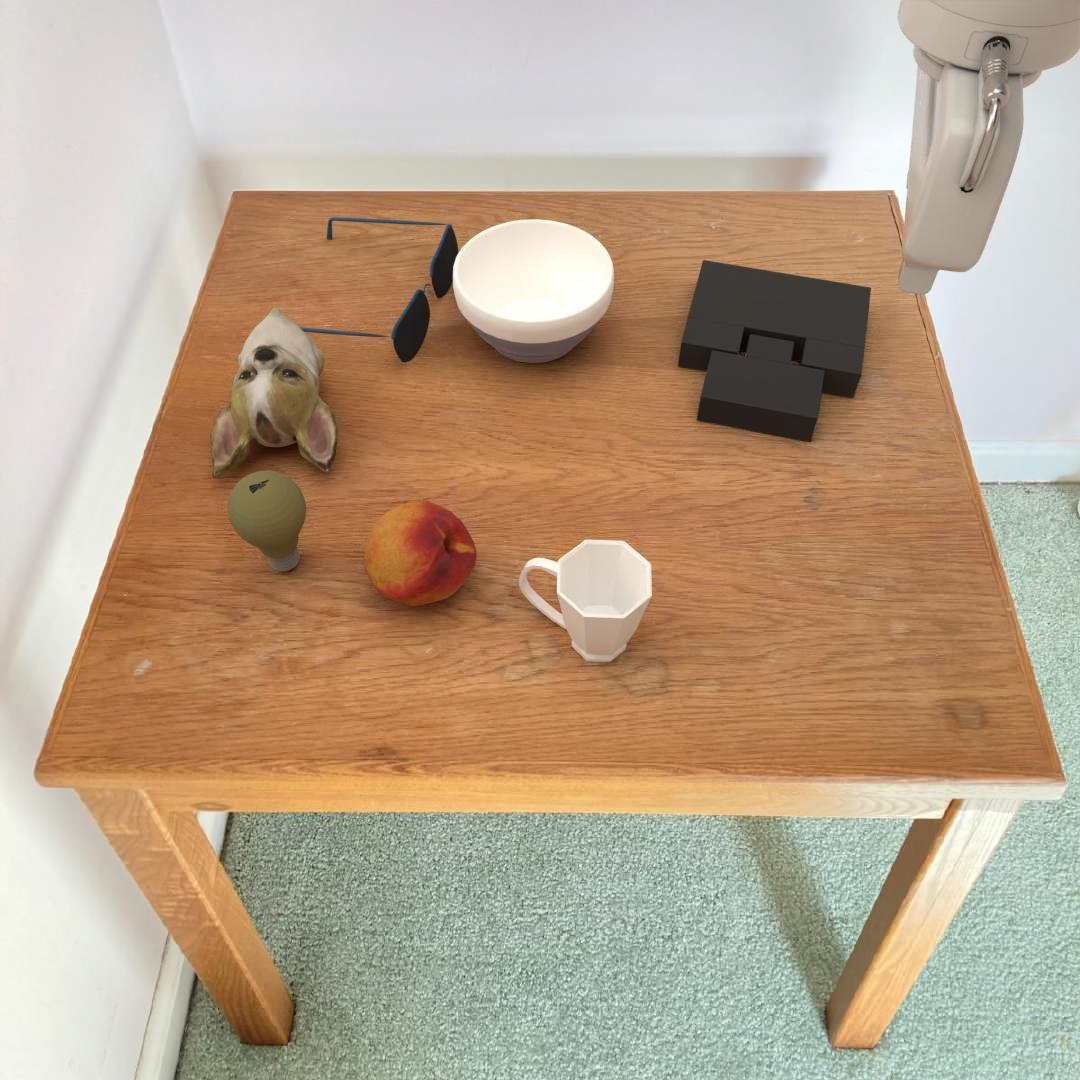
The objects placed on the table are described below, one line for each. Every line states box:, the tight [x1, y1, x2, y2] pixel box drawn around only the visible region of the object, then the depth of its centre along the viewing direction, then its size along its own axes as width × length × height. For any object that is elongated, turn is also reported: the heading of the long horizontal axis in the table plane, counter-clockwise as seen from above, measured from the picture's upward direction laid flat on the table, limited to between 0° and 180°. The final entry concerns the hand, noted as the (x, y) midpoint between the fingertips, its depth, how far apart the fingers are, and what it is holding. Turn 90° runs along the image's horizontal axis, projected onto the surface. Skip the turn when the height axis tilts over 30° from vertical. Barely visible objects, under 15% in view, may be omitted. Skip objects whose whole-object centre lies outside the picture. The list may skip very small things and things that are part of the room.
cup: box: [518, 539, 653, 663], centre depth 75 cm, size 7×10×8 cm
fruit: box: [362, 500, 478, 607], centre depth 77 cm, size 8×8×8 cm
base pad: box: [677, 259, 872, 399], centre depth 96 cm, size 16×12×3 cm
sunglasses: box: [299, 216, 459, 364], centre depth 99 cm, size 17×15×5 cm
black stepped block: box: [696, 334, 825, 443], centre depth 91 cm, size 10×9×3 cm
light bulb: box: [227, 470, 307, 572], centre depth 77 cm, size 6×6×10 cm
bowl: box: [452, 218, 615, 364], centre depth 94 cm, size 14×14×8 cm
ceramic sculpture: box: [209, 306, 339, 478], centre depth 87 cm, size 11×9×15 cm
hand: (916, 234), depth 60 cm, fingers open, 8 cm apart
